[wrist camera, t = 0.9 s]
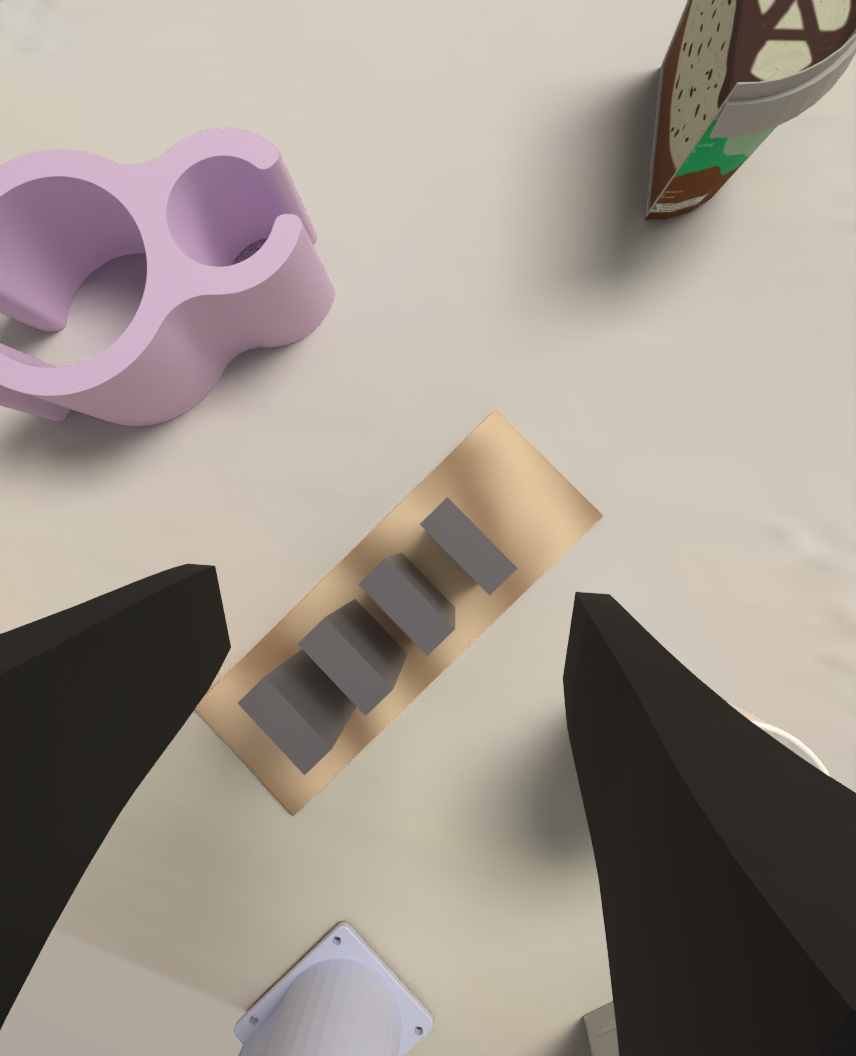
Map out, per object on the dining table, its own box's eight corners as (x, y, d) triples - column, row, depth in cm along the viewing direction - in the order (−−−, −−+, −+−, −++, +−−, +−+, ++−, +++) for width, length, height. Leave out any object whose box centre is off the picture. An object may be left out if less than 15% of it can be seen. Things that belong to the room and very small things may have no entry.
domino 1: (339, 720, 30) (304, 775, 23) (287, 664, 30) (237, 702, 23) (360, 699, 30) (332, 748, 23) (308, 644, 30) (264, 676, 23)
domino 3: (433, 628, 30) (427, 656, 23) (380, 573, 30) (358, 584, 23) (455, 607, 30) (455, 629, 23) (401, 552, 30) (385, 557, 23)
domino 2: (386, 674, 30) (365, 716, 23) (333, 619, 30) (297, 643, 23) (407, 653, 30) (393, 689, 23) (355, 598, 30) (324, 617, 23)
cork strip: (294, 813, 30) (293, 816, 30) (195, 705, 31) (193, 707, 31) (601, 515, 30) (603, 515, 29) (495, 410, 30) (495, 409, 30)
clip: (297, 172, 31) (252, 68, 24) (356, 357, 31) (328, 305, 24) (8, 277, 32) (-113, 205, 25) (62, 458, 32) (-47, 436, 25)
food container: (747, 251, 30) (896, 106, 20) (642, 243, 30) (735, 97, 20) (767, 48, 30) (925, -199, 20) (663, 42, 30) (766, -203, 20)
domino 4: (481, 581, 30) (489, 595, 23) (427, 527, 30) (419, 524, 23) (503, 560, 30) (517, 568, 23) (449, 506, 30) (447, 496, 23)
